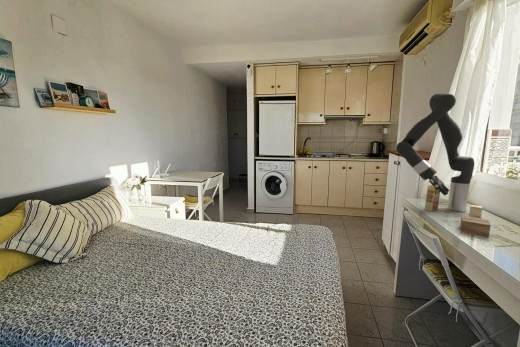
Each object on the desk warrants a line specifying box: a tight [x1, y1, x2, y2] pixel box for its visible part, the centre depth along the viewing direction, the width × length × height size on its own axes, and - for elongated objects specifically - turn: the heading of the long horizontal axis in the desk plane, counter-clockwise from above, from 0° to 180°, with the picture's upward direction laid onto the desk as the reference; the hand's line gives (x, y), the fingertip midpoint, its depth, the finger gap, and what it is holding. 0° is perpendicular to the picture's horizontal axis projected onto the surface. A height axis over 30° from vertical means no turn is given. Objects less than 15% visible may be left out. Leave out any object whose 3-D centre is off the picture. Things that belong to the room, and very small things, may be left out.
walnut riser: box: [459, 214, 491, 238], centre depth 119 cm, size 10×10×6 cm
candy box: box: [424, 184, 441, 212], centre depth 154 cm, size 9×4×15 cm, turn 123°
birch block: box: [468, 204, 483, 218], centre depth 127 cm, size 4×4×10 cm
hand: (447, 193), depth 134 cm, fingers open, 8 cm apart
